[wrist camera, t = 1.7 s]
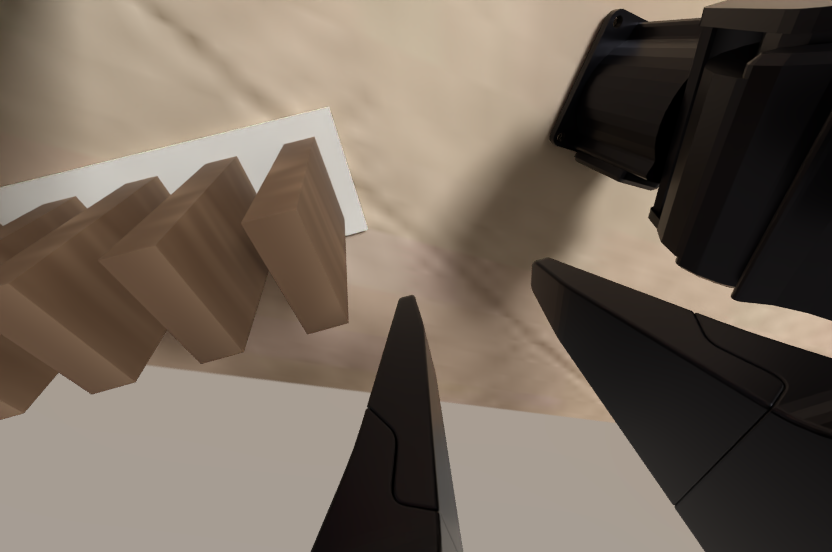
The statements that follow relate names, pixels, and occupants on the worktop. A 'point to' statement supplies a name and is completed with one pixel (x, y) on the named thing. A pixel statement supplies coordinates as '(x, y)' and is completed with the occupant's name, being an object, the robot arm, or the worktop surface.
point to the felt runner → (197, 166)
